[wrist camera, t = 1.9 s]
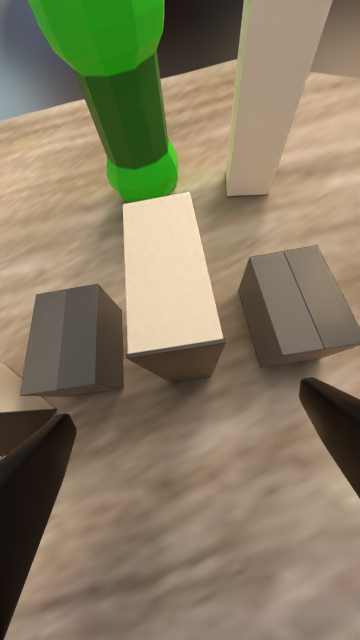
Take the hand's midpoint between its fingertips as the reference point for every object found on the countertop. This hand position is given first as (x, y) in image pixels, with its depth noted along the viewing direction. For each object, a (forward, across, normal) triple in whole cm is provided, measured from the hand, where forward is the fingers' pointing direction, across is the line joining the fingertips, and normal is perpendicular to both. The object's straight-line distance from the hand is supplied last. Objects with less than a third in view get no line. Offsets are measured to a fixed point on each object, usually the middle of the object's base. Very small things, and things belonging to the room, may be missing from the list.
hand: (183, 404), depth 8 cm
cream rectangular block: (+14, 0, +4) cm, 14 cm away
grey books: (+14, 0, +4) cm, 14 cm away
